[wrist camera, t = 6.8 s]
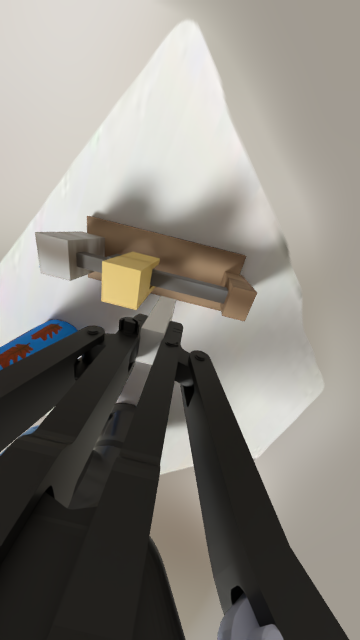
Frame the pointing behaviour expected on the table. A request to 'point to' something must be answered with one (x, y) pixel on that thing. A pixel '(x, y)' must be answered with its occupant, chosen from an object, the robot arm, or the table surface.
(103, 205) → the table surface
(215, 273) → the rod stand
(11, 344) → the thermos
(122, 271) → the sleeve
